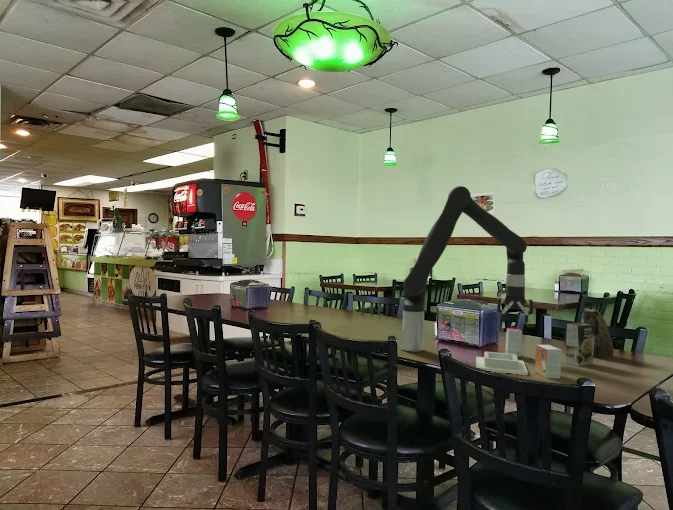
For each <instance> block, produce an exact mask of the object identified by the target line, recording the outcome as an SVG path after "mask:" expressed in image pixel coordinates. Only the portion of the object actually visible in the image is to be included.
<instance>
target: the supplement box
mask: <svg viewBox="0 0 673 510" xmlns="http://www.w3.org/2000/svg"><path fill="white" fill-rule="evenodd" d="M505 331H506V334H505V335H506V336H505V349H504V353H508V354H516V355H517V358H518V359H521V358H522V348H523V347H522V345H523V331H522V330H521V329H520V328H509V327H507V328H506V330H505Z"/></svg>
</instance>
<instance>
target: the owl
mask: <svg viewBox="0 0 673 510" xmlns="http://www.w3.org/2000/svg"><path fill="white" fill-rule="evenodd" d="M582 312H583V316H582V320H583V323H586V324H593V325H595V330H594V353H593V359H599V360H602V359H607V358H612V357H614V346H613V345H614V344H613V341H612V337H611V335H610V332H609V328H608V326H607V321H606V320H605V318H604V317H603V315H602V314H601V313H600V311H598V310H595V309H592V308H591V309H590V308H588V307H586V308H584V309H583V310H582Z"/></svg>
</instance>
